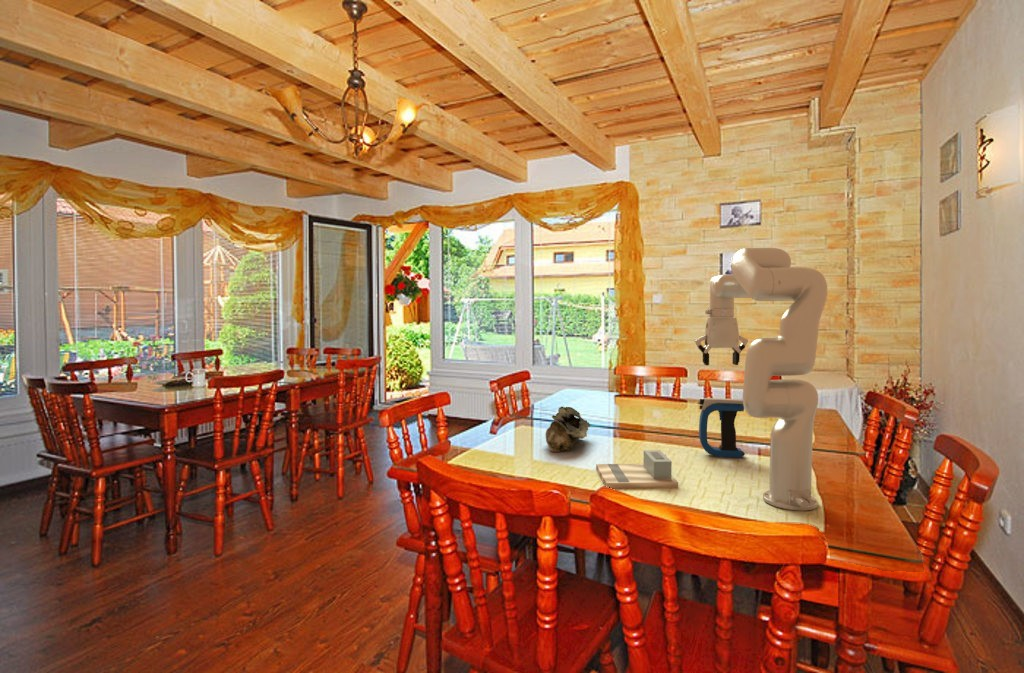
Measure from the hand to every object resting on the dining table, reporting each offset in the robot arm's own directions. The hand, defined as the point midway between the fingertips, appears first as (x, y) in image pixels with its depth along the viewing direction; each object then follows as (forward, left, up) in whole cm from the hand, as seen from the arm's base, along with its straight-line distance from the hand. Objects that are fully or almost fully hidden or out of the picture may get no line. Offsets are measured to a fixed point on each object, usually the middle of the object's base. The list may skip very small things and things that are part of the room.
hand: (720, 364), depth 182 cm
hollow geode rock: (+16, +49, -31) cm, 60 cm away
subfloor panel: (-23, +34, -31) cm, 51 cm away
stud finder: (-23, +27, -29) cm, 46 cm away
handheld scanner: (-1, -1, -31) cm, 31 cm away
